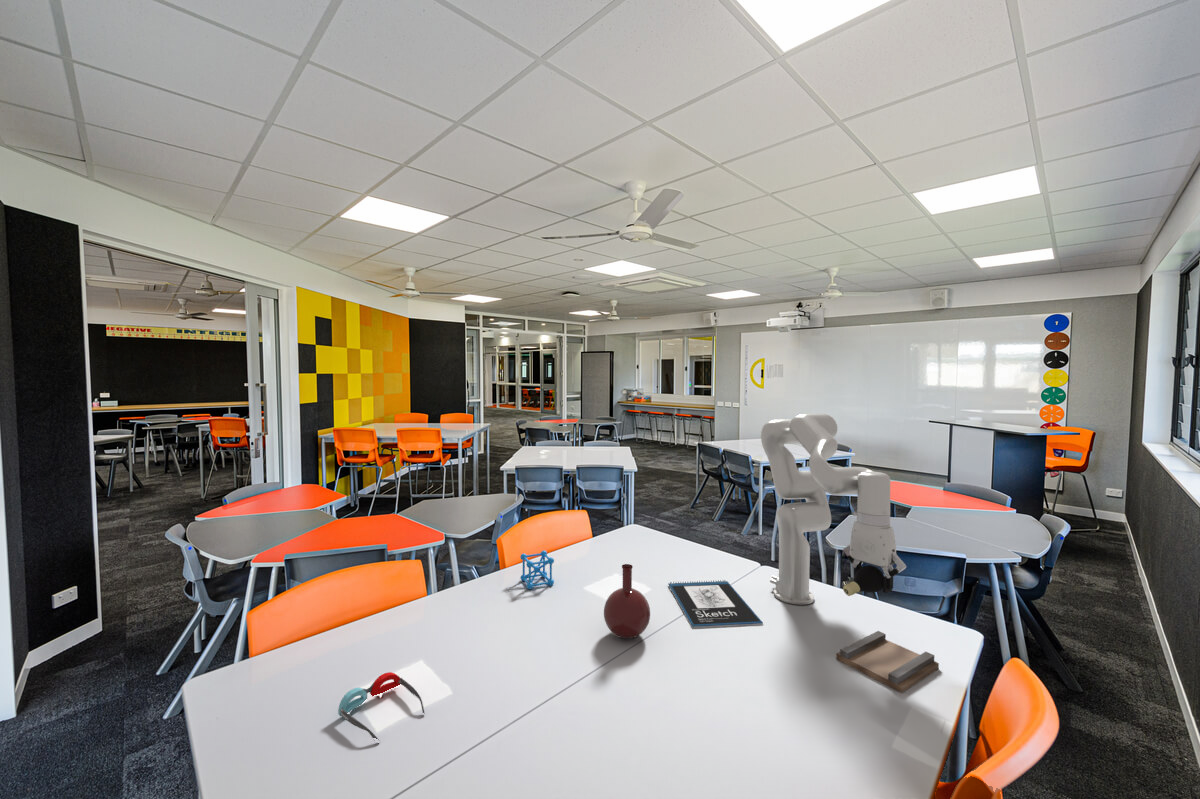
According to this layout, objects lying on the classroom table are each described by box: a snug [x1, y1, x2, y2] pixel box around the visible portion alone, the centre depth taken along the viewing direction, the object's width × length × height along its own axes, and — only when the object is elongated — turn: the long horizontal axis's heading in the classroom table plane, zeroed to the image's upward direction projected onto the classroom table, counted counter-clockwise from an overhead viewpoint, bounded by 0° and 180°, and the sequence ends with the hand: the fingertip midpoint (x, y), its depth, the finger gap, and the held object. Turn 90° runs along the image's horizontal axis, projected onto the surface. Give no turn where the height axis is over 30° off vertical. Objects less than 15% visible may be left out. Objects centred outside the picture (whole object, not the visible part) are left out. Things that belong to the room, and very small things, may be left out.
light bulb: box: [842, 564, 885, 597], centre depth 125 cm, size 7×7×12 cm
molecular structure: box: [519, 550, 555, 590], centre depth 171 cm, size 10×10×10 cm
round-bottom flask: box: [603, 563, 651, 640], centre depth 136 cm, size 13×13×20 cm
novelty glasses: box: [337, 671, 425, 740], centre depth 103 cm, size 14×15×5 cm
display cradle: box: [835, 630, 940, 693], centre depth 123 cm, size 16×18×3 cm
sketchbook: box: [668, 579, 764, 629], centre depth 156 cm, size 22×30×2 cm
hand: (873, 586), depth 126 cm, fingers closed on light bulb, 6 cm apart
